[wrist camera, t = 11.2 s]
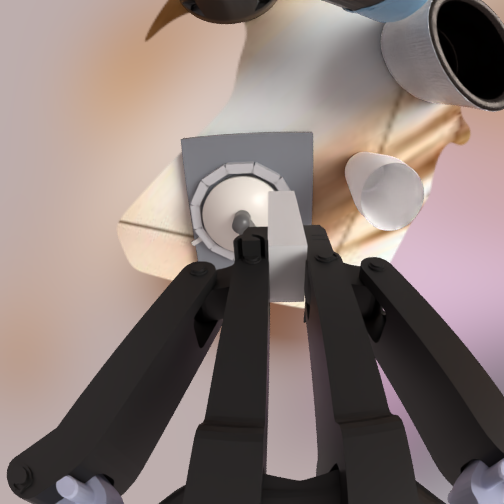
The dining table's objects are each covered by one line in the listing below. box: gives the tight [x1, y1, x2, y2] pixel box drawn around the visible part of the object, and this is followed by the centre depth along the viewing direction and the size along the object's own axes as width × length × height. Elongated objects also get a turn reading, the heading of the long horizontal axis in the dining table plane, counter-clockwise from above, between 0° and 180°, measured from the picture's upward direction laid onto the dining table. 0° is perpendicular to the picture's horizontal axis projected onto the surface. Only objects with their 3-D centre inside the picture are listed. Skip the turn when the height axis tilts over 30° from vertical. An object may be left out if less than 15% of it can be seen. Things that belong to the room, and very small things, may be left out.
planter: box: [381, 0, 504, 112], centre depth 23 cm, size 16×16×16 cm
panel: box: [181, 132, 313, 270], centre depth 44 cm, size 24×20×3 cm
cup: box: [345, 152, 424, 231], centre depth 35 cm, size 9×9×12 cm
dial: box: [202, 175, 275, 252], centre depth 41 cm, size 12×12×5 cm
